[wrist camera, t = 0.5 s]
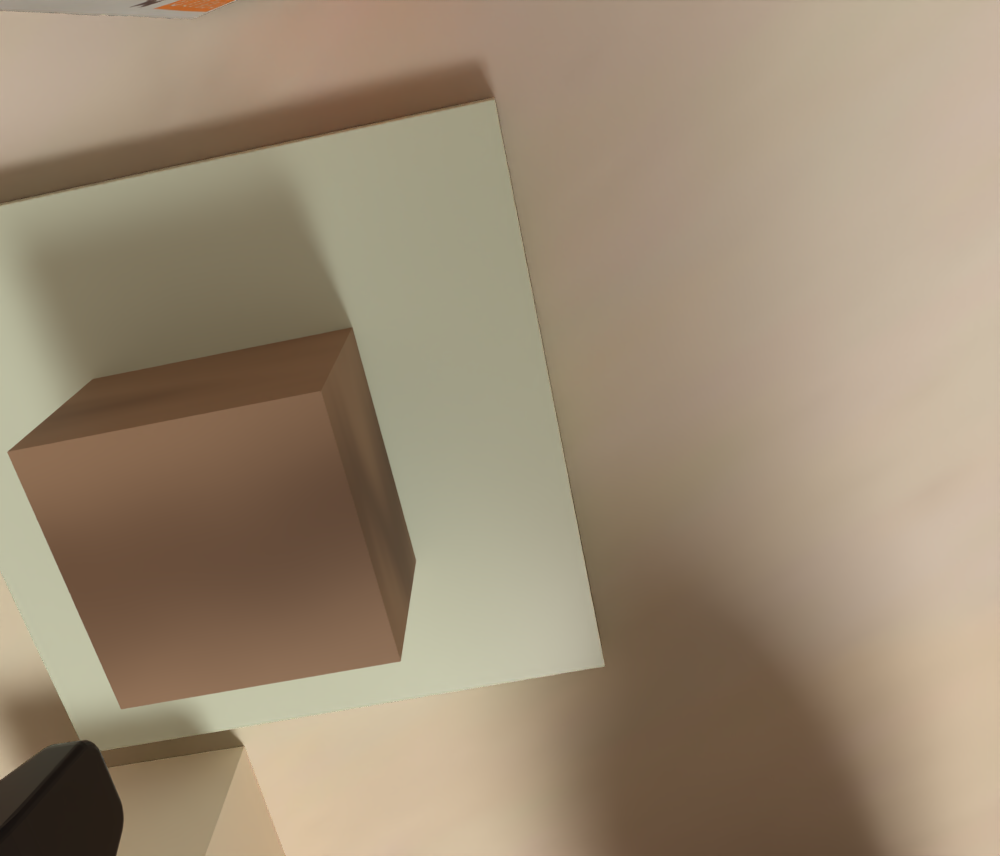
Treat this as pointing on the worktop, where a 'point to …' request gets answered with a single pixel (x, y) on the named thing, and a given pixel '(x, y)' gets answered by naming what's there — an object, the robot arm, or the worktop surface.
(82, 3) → the skincare box
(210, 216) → the baseplate
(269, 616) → the brick walnut
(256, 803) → the brick cream
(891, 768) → the worktop surface
